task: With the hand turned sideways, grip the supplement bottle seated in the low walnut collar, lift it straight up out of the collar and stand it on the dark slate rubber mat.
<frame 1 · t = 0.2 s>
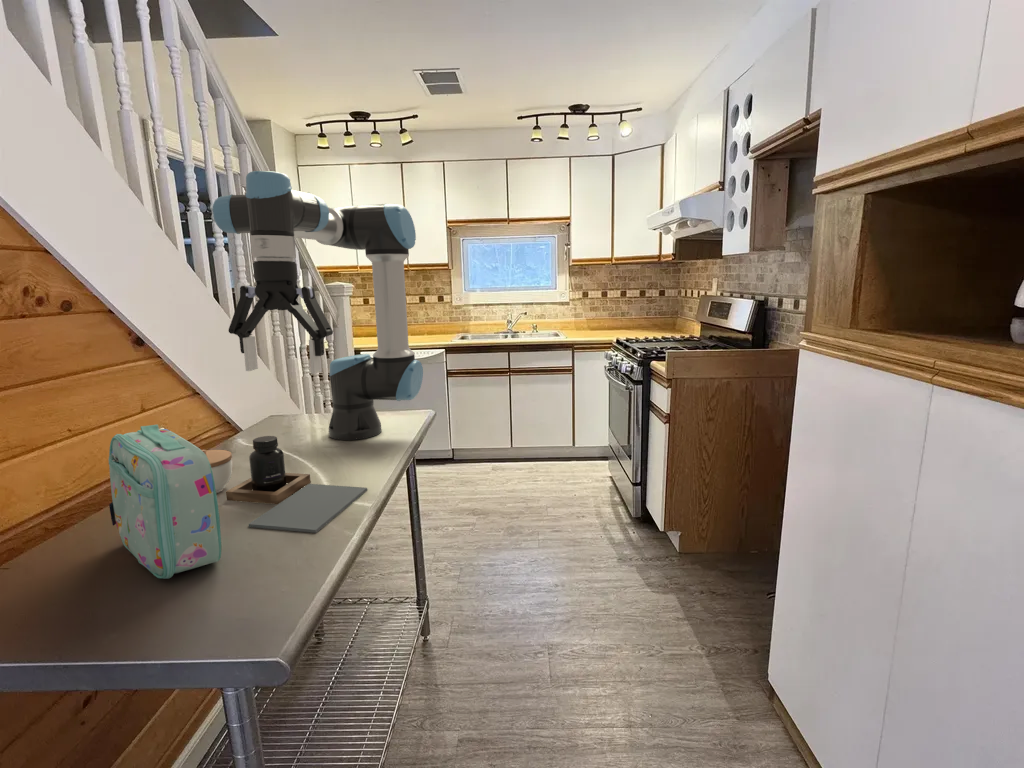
hand: (283, 371, 104), 28 cm above the table, tool pointing down, fingers open, 13 cm apart
supplement bottle: (270, 492, 117), resting in walnut collar
slate mat: (312, 507, 108), on the table
walnut collar: (270, 491, 117), on the table
lunch box: (169, 554, 91), on the table
lidded jar: (208, 491, 118), on the table
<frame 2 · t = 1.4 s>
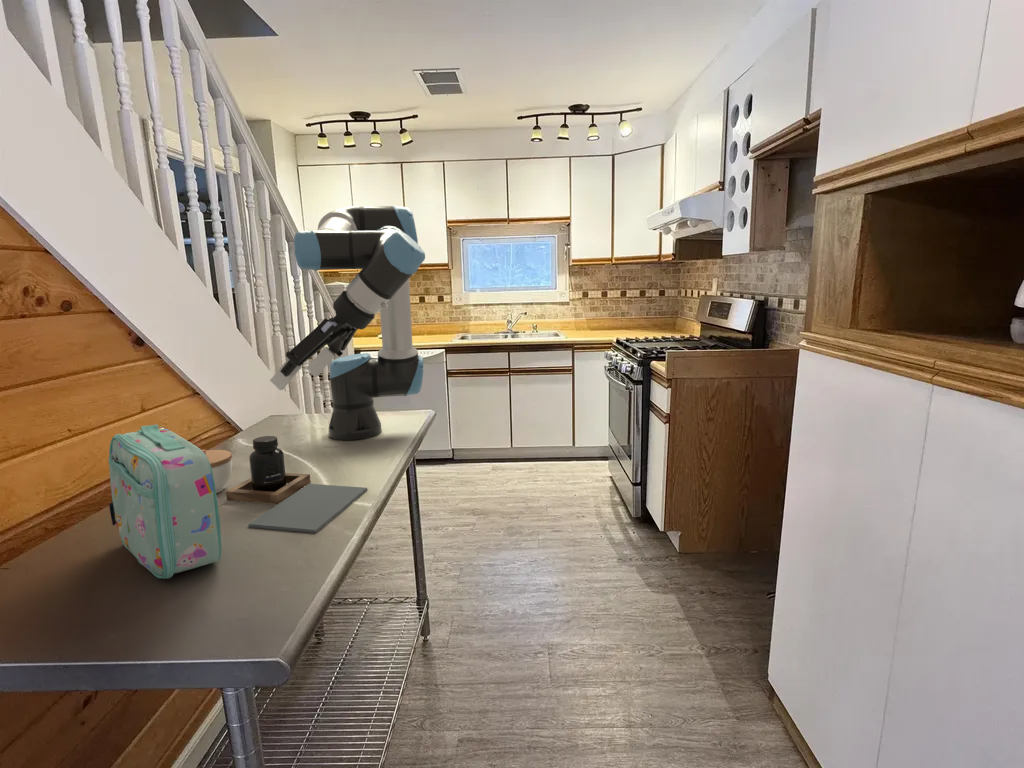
hand: (294, 378, 107), 26 cm above the table, tool tilted 45°, fingers open, 13 cm apart
nothing on the table moved.
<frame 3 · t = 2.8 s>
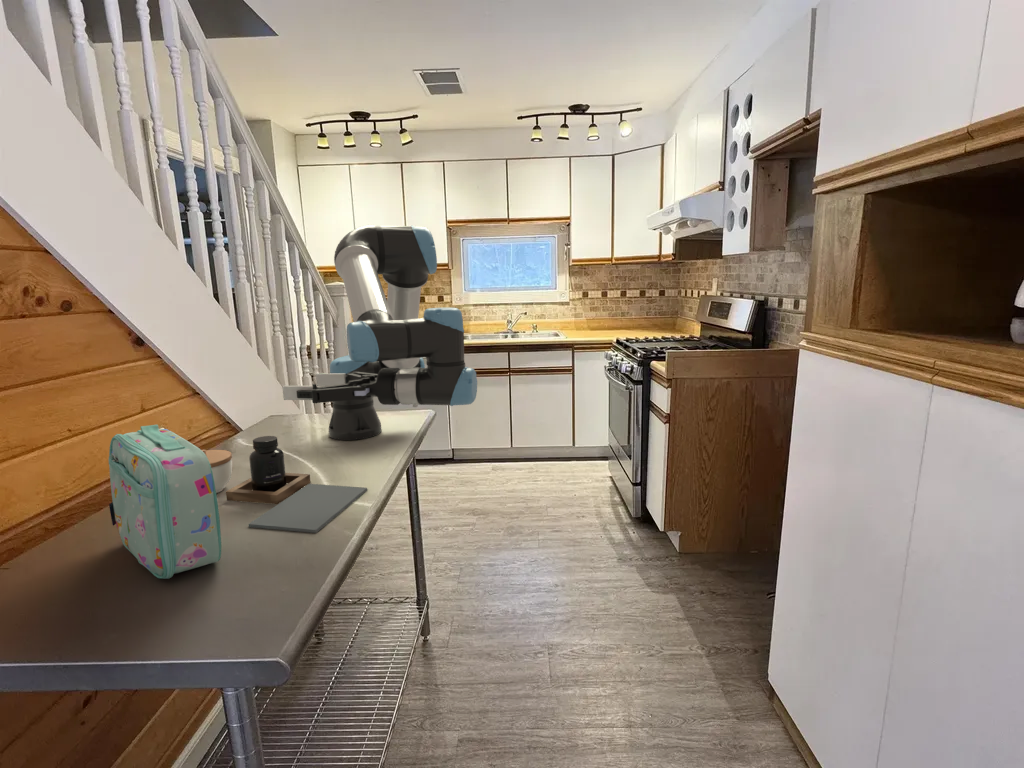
hand: (301, 385, 111), 24 cm above the table, tool horizontal, fingers open, 13 cm apart
nothing on the table moved.
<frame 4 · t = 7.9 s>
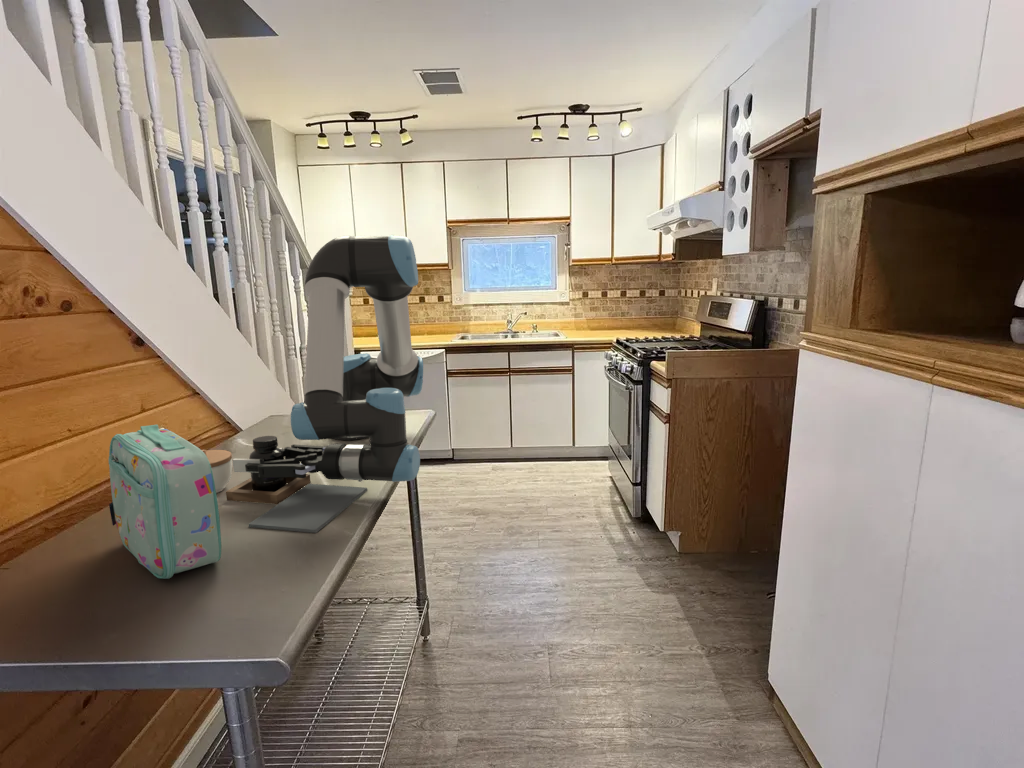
hand: (245, 459, 116), 7 cm above the table, tool horizontal, fingers closed on supplement bottle, 7 cm apart
supplement bottle: (270, 492, 117), resting in walnut collar, touching gripper
everything else where it was.
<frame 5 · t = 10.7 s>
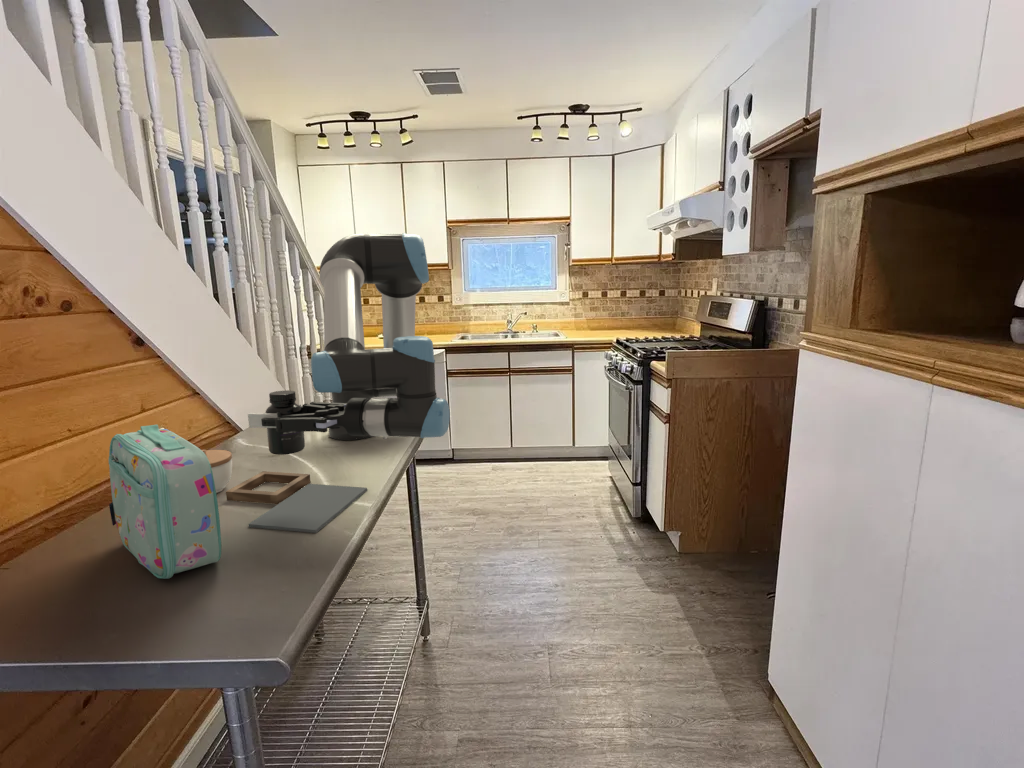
hand: (261, 415, 107), 19 cm above the table, tool horizontal, fingers closed on supplement bottle, 7 cm apart
supplement bottle: (287, 451, 108), point 11 cm above the table, touching gripper
everything else where it was.
when the fingers open (9 cm above the table, at t = 13.8 s): supplement bottle drops 1 cm, resting on slate mat.
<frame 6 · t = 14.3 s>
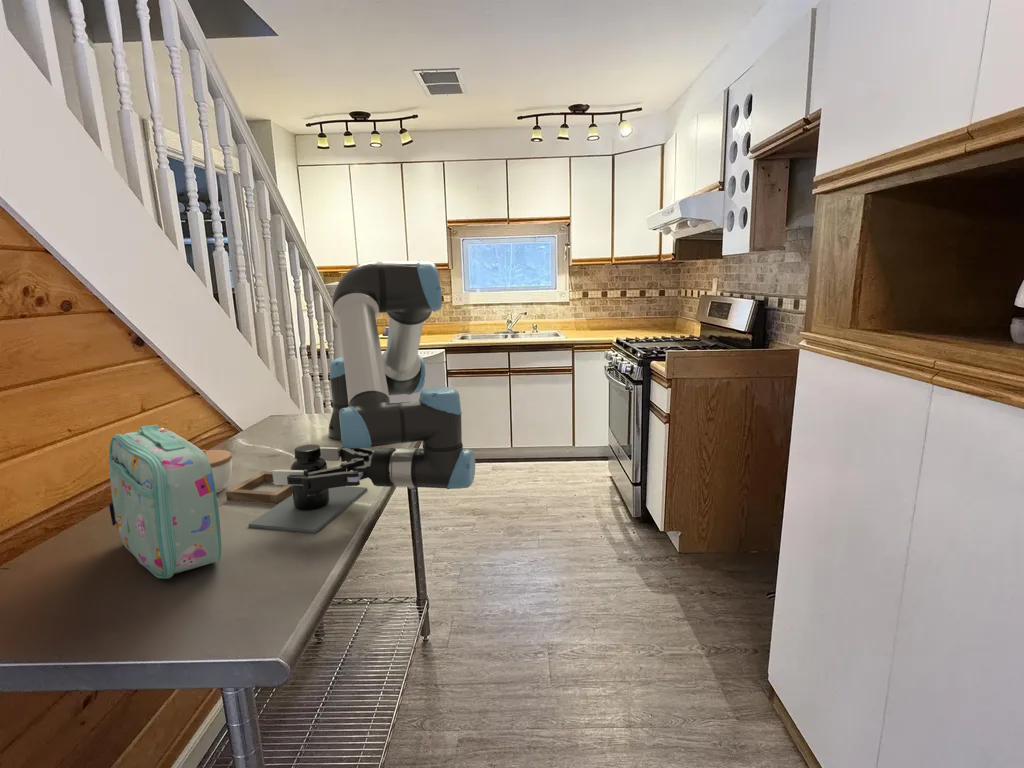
hand: (292, 464, 107), 9 cm above the table, tool horizontal, fingers open, 13 cm apart
supplement bottle: (312, 505, 108), resting on slate mat
everything else where it was.
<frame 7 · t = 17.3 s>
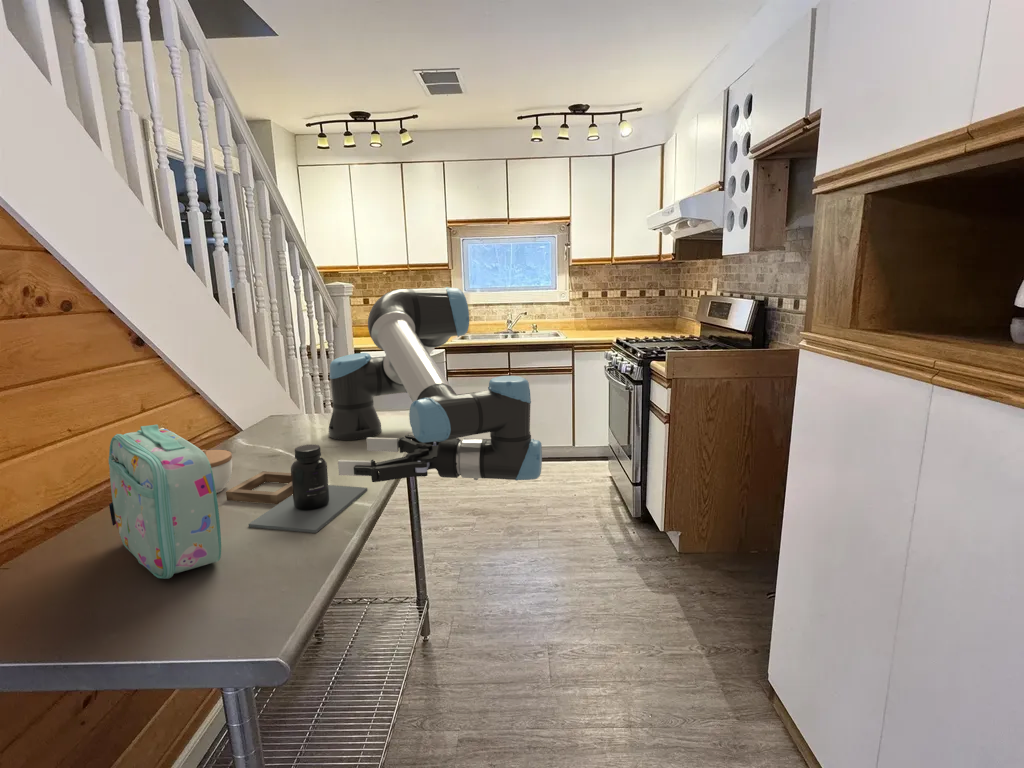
hand: (354, 455, 104), 11 cm above the table, tool horizontal, fingers open, 13 cm apart
nothing on the table moved.
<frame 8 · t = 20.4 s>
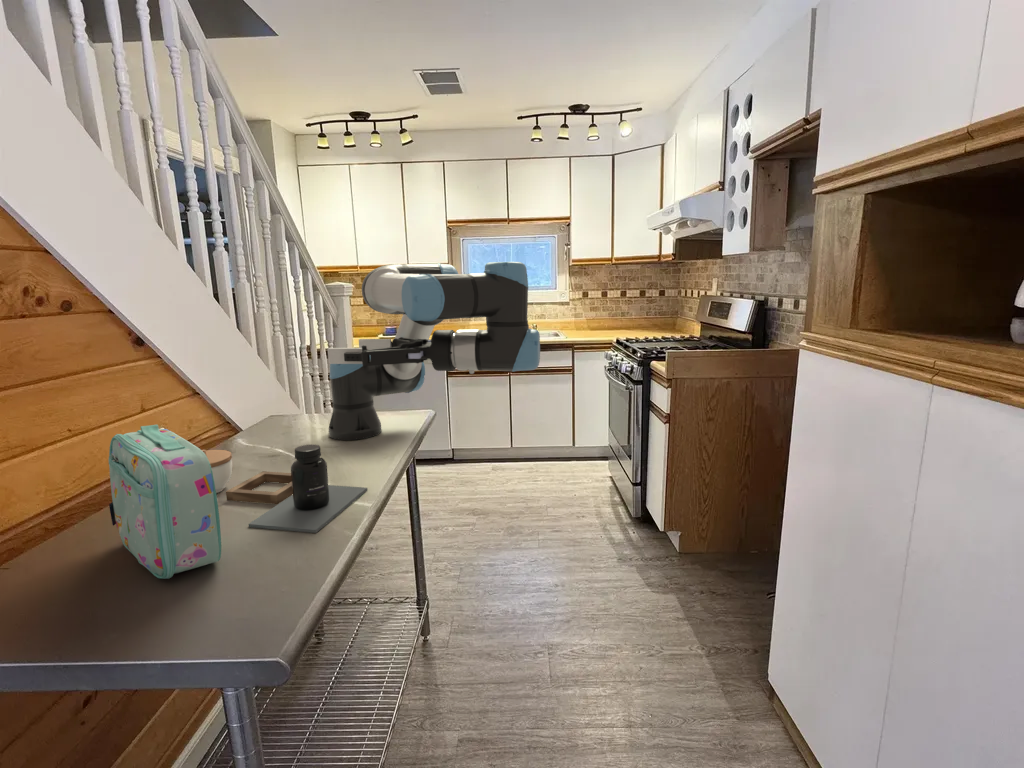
hand: (345, 350, 101), 32 cm above the table, tool horizontal, fingers open, 13 cm apart
nothing on the table moved.
at the end: supplement bottle inside the target area (0.0 cm from its centre), resting on slate mat; supplement bottle tilted 0°; the gripper is holding nothing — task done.
